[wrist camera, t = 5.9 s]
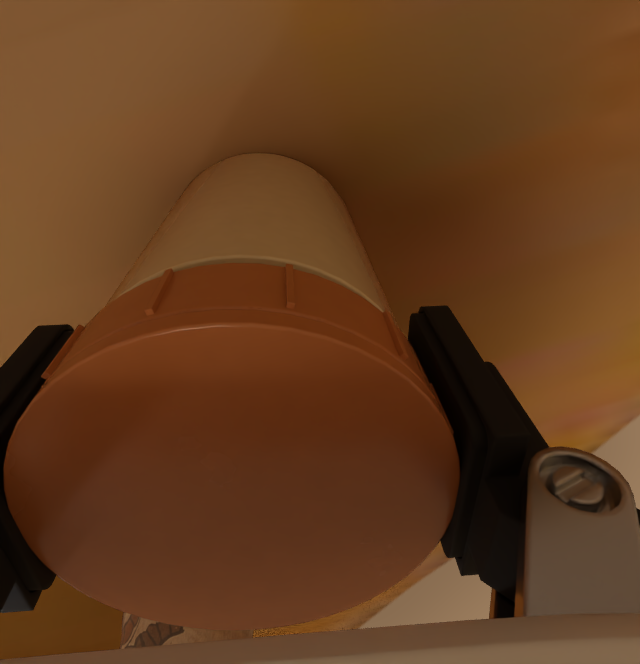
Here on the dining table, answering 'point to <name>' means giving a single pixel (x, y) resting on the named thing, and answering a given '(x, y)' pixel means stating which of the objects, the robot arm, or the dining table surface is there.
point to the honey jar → (260, 226)
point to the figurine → (169, 633)
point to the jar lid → (234, 452)
